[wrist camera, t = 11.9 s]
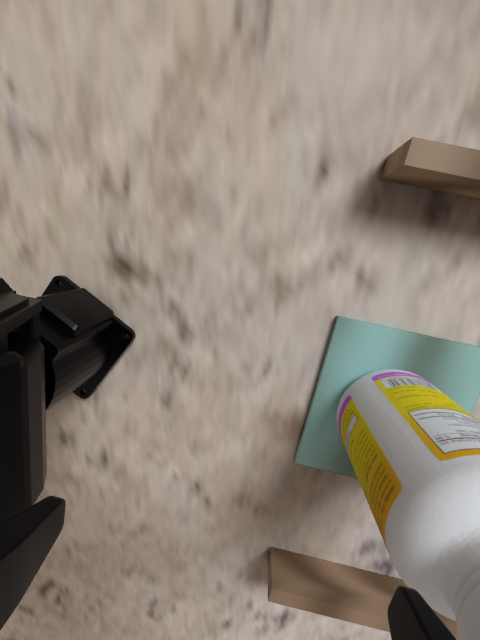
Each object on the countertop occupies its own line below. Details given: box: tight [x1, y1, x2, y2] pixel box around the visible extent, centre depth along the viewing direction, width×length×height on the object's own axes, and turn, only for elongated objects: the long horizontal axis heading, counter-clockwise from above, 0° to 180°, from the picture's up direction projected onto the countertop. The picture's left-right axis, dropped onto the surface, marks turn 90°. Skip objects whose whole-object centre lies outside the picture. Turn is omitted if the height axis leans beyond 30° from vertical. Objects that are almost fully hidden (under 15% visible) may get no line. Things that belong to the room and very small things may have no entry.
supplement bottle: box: [337, 369, 480, 640], centre depth 14 cm, size 7×7×13 cm
